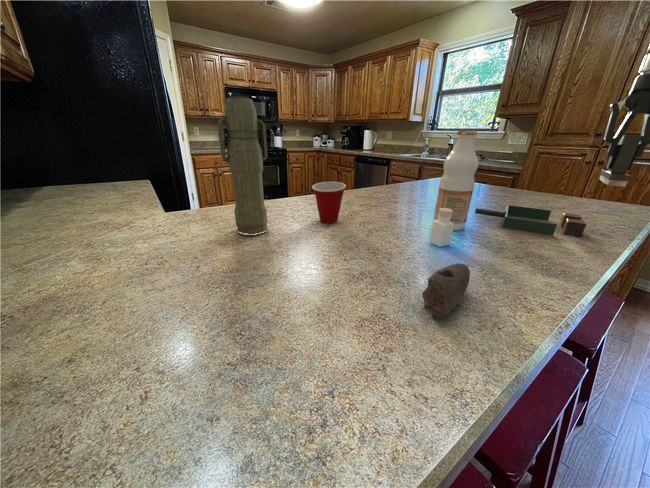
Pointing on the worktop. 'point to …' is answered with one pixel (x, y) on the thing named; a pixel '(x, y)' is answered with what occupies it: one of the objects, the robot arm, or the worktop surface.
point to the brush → (621, 162)
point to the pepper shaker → (442, 228)
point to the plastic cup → (329, 200)
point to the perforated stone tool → (446, 289)
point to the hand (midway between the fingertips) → (617, 168)
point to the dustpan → (523, 223)
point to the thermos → (245, 163)
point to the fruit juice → (458, 179)
